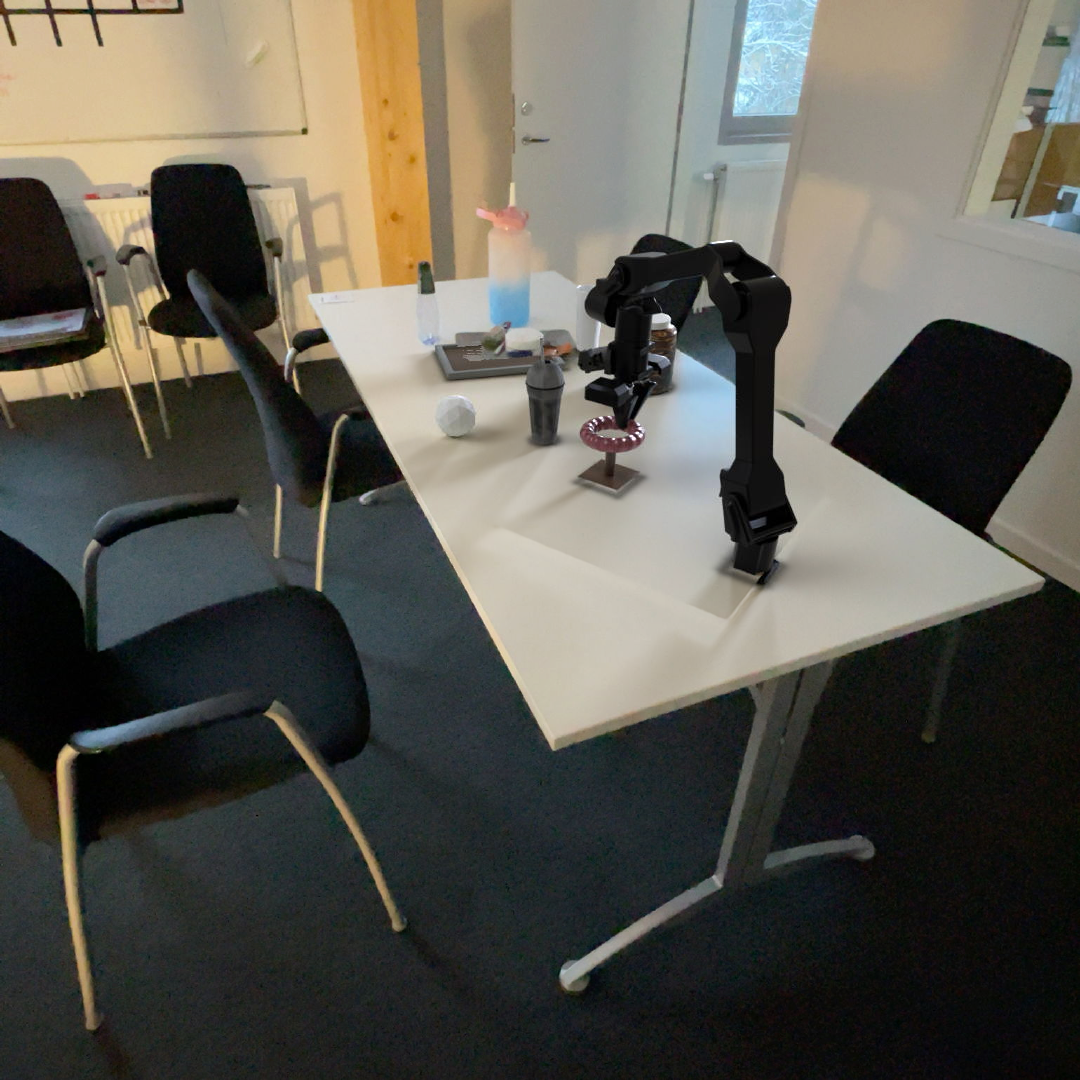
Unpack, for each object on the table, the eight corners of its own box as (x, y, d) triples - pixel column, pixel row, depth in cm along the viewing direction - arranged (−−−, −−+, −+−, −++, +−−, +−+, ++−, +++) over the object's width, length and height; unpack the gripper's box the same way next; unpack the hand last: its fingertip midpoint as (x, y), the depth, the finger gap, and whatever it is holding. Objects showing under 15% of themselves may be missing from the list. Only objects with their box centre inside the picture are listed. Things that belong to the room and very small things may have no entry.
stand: (617, 496, 125) (620, 455, 120) (577, 482, 128) (579, 441, 124) (640, 477, 130) (644, 437, 126) (601, 464, 134) (603, 425, 130)
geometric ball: (464, 450, 144) (468, 430, 136) (426, 432, 143) (428, 412, 136) (480, 419, 147) (485, 398, 139) (443, 402, 146) (446, 380, 139)
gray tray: (434, 344, 180) (553, 335, 187) (434, 351, 181) (553, 341, 188) (447, 373, 165) (576, 362, 172) (448, 380, 166) (576, 368, 172)
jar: (666, 374, 170) (673, 308, 162) (675, 394, 161) (683, 326, 152) (614, 374, 170) (619, 308, 162) (621, 394, 160) (626, 325, 152)
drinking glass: (583, 343, 187) (586, 282, 179) (606, 349, 184) (610, 287, 176) (568, 350, 183) (570, 288, 174) (591, 356, 179) (594, 293, 171)
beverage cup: (570, 439, 142) (575, 336, 131) (545, 452, 138) (547, 346, 126) (543, 428, 146) (544, 327, 135) (517, 439, 142) (516, 336, 130)
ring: (623, 461, 119) (624, 448, 117) (567, 443, 124) (567, 430, 122) (655, 436, 126) (657, 423, 125) (601, 420, 131) (601, 408, 130)
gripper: (618, 312, 129) (612, 397, 137) (557, 341, 116) (555, 432, 125) (676, 325, 123) (666, 412, 132) (619, 357, 111) (612, 451, 119)
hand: (625, 426), depth 127 cm, fingers closed on ring, 2 cm apart
